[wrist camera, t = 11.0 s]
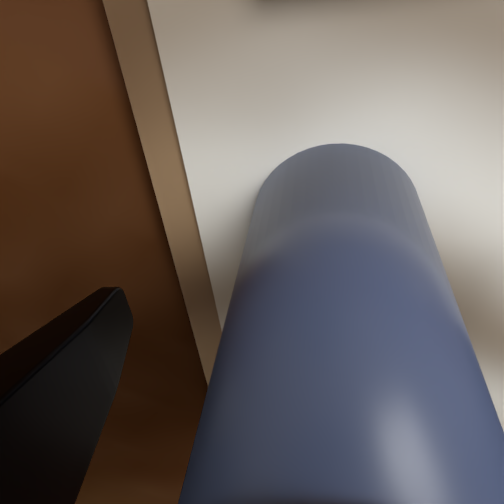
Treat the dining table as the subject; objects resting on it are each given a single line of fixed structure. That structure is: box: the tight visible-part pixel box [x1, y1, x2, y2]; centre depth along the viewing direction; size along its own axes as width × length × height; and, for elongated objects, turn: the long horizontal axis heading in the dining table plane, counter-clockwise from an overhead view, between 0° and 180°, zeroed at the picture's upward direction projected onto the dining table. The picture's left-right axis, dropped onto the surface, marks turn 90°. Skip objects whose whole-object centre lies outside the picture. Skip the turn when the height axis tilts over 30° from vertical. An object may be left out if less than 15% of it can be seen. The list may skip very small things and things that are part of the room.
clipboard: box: [103, 0, 504, 432], centre depth 12 cm, size 20×15×2 cm
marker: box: [178, 143, 504, 504], centre depth 8 cm, size 4×4×9 cm
